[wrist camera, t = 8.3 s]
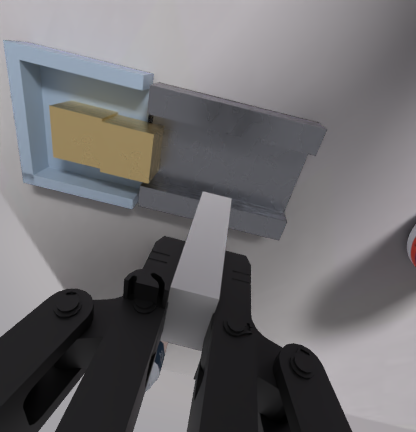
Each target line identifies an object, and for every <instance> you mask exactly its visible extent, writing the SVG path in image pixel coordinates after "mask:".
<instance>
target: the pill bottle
mask: <svg viewBox="0 0 416 432" xmlns="http://www.w3.org/2000/svg"><path fill="white" fill-rule="evenodd" d="M407 253H408V256H409V258H410V260H411V262H412V263H413V264H414V266H415V267H416V225H415V226H414V227H413V229H412V231H411V232H410V234H409V237H408V241H407Z"/></svg>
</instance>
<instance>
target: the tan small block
mask: <svg viewBox="0 0 416 432" xmlns="http://www.w3.org/2000/svg"><path fill="white" fill-rule="evenodd" d="M49 111H50V124H51V136H52V148H53V157H54V158H59V159H63V160H67V161H71V162H75V163H79V164H83V165H87V166H91V167H95V168H100V121H102V120H105V119H107V118H110V117H112V116H114V115H117V114H118V112H116V111H112V110H108V109H104V108H100V107H96V106H92V105H88V104H84V103H80V102H76V101H67V102H62V103H58V104H54V105H49Z"/></svg>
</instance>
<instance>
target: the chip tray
mask: <svg viewBox="0 0 416 432" xmlns="http://www.w3.org/2000/svg"><path fill="white" fill-rule="evenodd" d="M3 42H4V49H5V56H6V63H7V70H8V77H9V84H10V91H11V98H12V105H13V112H14V119H15V126H16V133H17V140H18V147H19V154H20V161H21V168H22V175H23V182H24V183H27V184H31V185H36V186H40V187H44V188H48V189H52V190H56V191H60V192H64V193H68V194H72V195H76V196H80V197H84V198H89V199H93V200H97V201H101V202H105V203H109V204H113V205H117V206H121V207H125V208H129V209H133V207H134V206H135V205H136V203H137V202H138V201H139V191H140V185H141V184H142V183H143V182H139V181H135V180H131V179H127V178H123V177H119V176H115V175H111V174H107V173H103V172H100V168H95V167H91V166H87V165H83V164H79V163H75V162H71V161H67V160H63V159H59V158H54V157H53V148H52V136H51V124H50V111H49V105H54V104H58V103H62V102H67V101H76V102H80V103H84V104H88V105H92V106H96V107H100V108H104V109H108V110H112V111H116V112H118V115H122V116H126V117H130V118H134V119H138V120H142V121H146V122H149V115H150V114H147V109H148V99H149V88H150V85H151V84H153V76H154V74H152V73H148V72H144V71H140V70H137V69H133V68H129V67H125V66H121V65H117V64H113V63H109V62H105V61H101V60H97V59H93V58H89V57H85V56H81V55H77V54H73V53H69V52H65V51H61V50H57V49H53V48H49V47H45V46H41V45H37V44H33V43H29V42H21V41H10V40H3Z"/></svg>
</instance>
